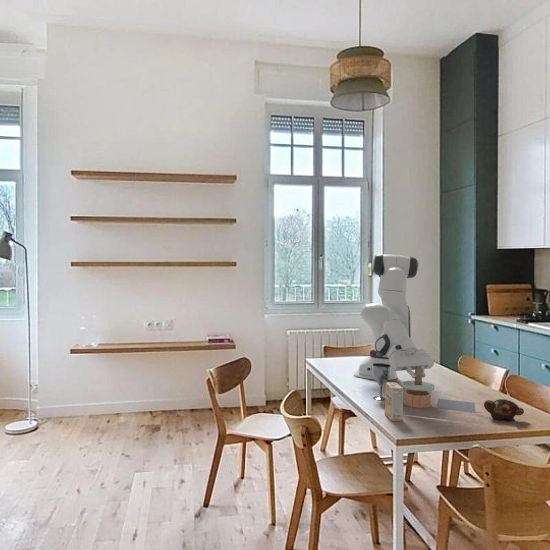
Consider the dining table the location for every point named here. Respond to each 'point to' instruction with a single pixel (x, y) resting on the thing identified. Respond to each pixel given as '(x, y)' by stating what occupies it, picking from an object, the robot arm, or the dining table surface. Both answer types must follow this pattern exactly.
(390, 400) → the supplement box
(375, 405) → the dining table surface
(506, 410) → the decorative turtle
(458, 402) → the mat
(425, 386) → the lid
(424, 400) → the bowl
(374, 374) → the wine glass
